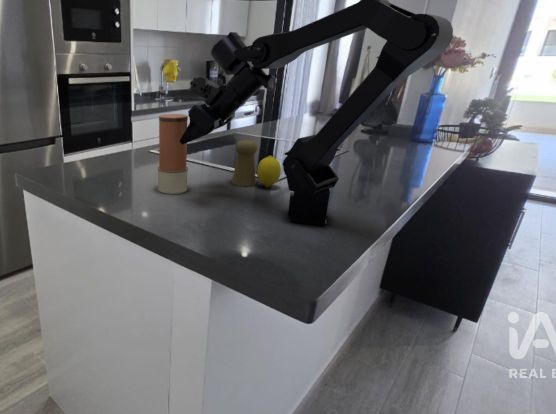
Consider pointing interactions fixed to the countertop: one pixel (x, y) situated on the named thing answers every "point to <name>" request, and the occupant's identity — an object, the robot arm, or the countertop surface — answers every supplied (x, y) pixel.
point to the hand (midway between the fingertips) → (187, 139)
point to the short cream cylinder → (172, 181)
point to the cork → (245, 164)
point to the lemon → (268, 171)
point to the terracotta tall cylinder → (172, 142)
